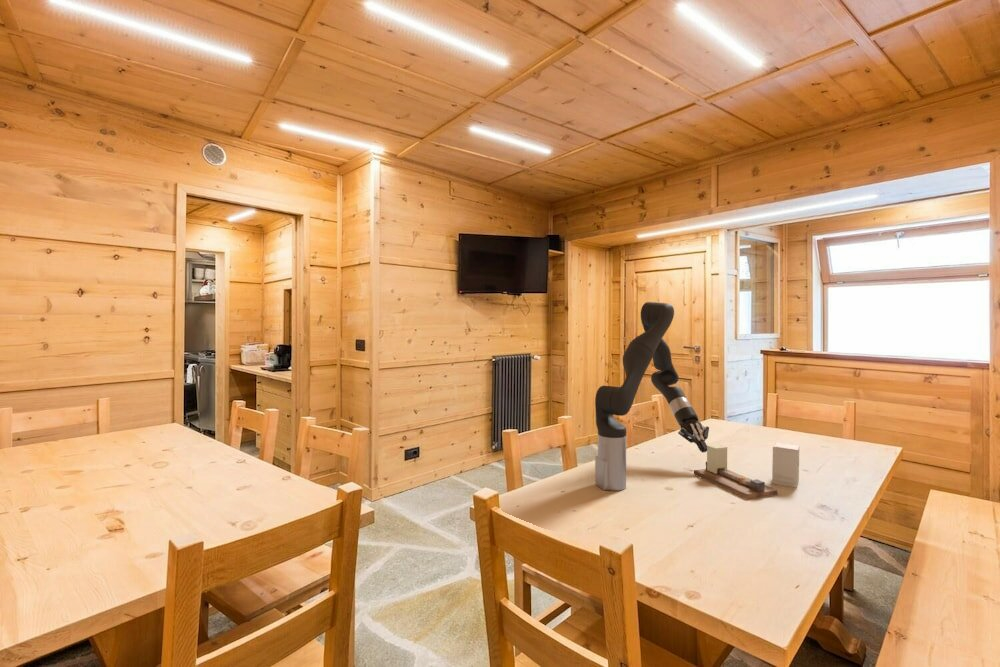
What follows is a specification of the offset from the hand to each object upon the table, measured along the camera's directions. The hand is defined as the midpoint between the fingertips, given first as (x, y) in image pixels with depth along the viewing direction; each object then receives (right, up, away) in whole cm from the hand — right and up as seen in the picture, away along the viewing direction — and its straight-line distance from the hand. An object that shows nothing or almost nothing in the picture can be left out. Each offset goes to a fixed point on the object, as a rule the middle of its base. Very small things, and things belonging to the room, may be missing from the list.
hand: (705, 451), depth 169 cm
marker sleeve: (+2, -6, -6) cm, 8 cm away
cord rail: (+4, -8, -13) cm, 15 cm away
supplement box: (+22, -8, -12) cm, 26 cm away
